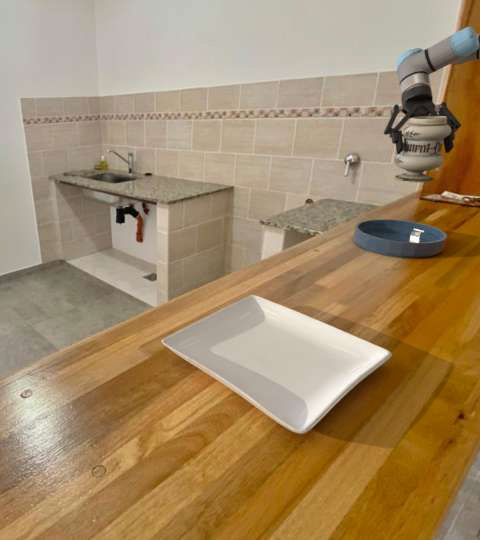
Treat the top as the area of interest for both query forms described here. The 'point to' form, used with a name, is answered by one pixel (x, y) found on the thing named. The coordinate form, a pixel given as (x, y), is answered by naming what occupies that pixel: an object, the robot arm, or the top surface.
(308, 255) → the top surface
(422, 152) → the apothecary jar
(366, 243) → the bowl
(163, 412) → the top surface
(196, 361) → the square plate
